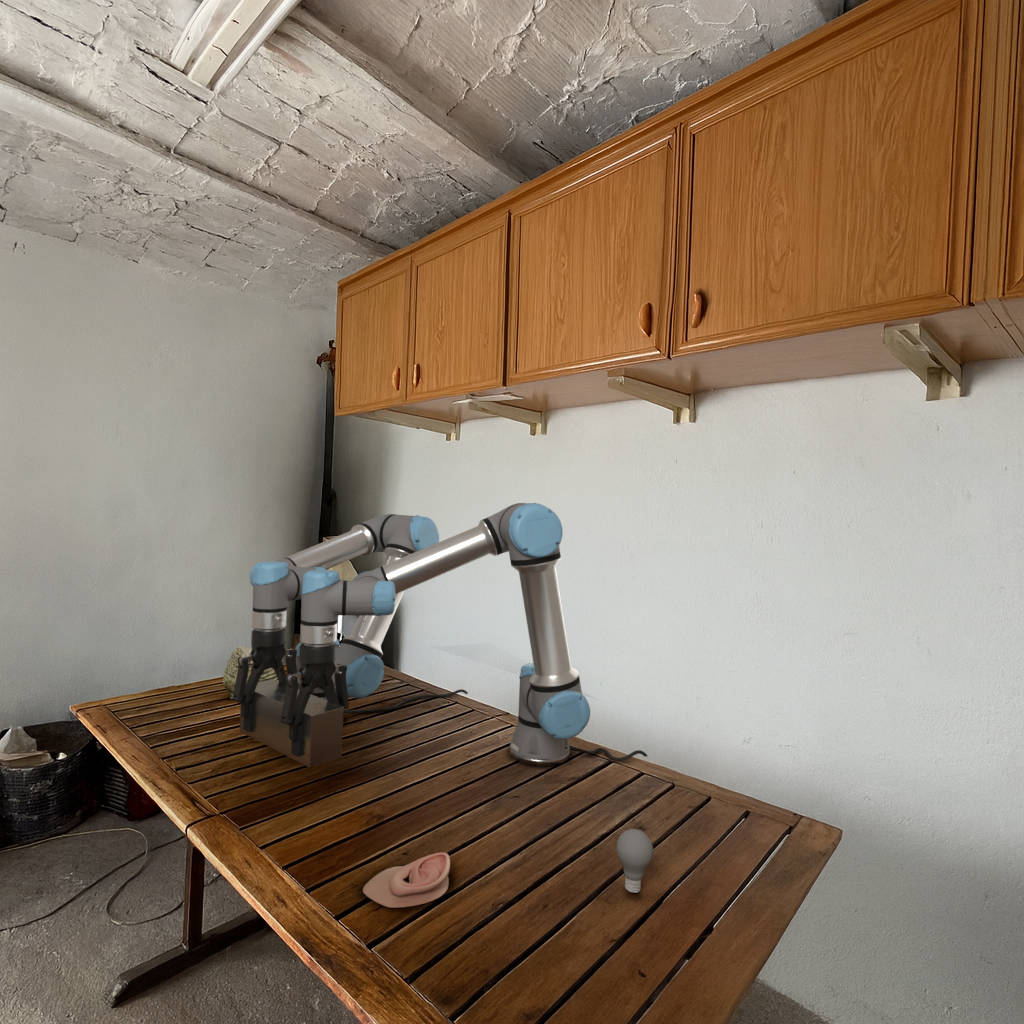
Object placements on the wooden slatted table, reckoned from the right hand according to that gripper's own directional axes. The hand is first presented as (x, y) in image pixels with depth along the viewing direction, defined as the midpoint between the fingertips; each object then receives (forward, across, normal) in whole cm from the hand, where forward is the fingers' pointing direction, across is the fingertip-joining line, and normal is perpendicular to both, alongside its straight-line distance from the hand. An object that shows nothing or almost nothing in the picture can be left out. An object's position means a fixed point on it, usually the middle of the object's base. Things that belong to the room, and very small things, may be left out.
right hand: (314, 748), depth 135 cm
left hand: (0, 0, +20) cm, 20 cm away
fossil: (+9, +25, +69) cm, 74 cm away
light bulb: (+9, +16, -68) cm, 70 cm away
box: (+2, 0, +10) cm, 10 cm away
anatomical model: (+9, -9, -40) cm, 42 cm away
